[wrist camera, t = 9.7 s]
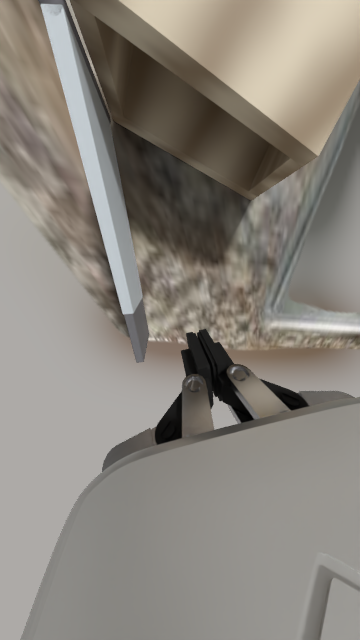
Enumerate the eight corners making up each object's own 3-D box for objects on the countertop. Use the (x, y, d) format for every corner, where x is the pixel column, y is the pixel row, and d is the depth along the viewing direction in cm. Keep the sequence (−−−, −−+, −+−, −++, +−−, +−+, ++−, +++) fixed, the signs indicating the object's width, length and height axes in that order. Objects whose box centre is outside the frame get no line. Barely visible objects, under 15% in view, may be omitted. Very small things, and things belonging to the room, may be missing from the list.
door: (94, 108, 12) (27, -35, 6) (108, 108, 12) (56, -33, 6) (142, 334, 21) (134, 362, 16) (150, 333, 22) (145, 361, 16)
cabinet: (113, 121, 13) (50, -53, 6) (138, -80, 9) (52, -1206, 2) (251, 200, 17) (318, 156, 9) (305, 77, 13) (479, -145, 6)
